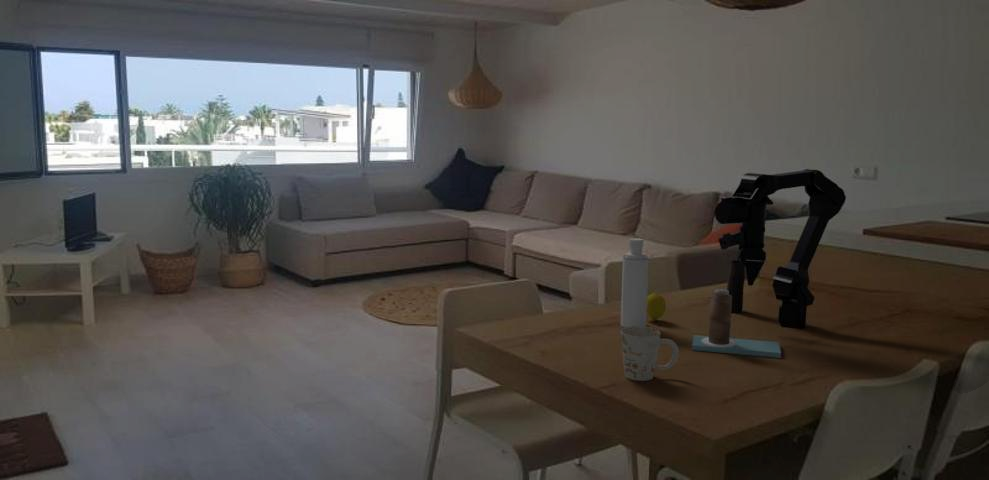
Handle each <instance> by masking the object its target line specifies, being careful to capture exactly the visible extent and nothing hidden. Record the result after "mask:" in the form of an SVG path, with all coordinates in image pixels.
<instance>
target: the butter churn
mask: <svg viewBox="0 0 989 480" xmlns="http://www.w3.org/2000/svg"><path fill="white" fill-rule="evenodd" d="M729 263H730V267H729V272H728V278H727V286H726V290H728V291H729V295H732V307H731V313H742V312H743V308H744V307H743V305H744V290H745V287H744V286H745V279H746V278H745V276H746V275H745V273H746V267H745V265H744V264H743V263H742V262H741V261H740V259H739V250H738V253H737V259H734V260H729Z"/></svg>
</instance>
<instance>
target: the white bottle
mask: <svg viewBox="0 0 989 480" xmlns="http://www.w3.org/2000/svg"><path fill="white" fill-rule="evenodd" d="M628 243H629V244H628V245H629V250H630V251H629V252H626V253H625V254H624V255H623V256H622V271H621V272H622V273H621V274H622V277H621V279H622V280H621V303H620V304H621V306H620V326H621V327H623V328H625V327H630V326H644V327H647V314H646V313H647V297H648V288H649V287H648V285H649V283H648V282H649V260H650V259H649V257H650V256H647V254H646V253H644V252H643V247H644V239H643V238H637V237H635V238H629V242H628Z"/></svg>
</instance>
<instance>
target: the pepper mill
mask: <svg viewBox="0 0 989 480" xmlns="http://www.w3.org/2000/svg"><path fill="white" fill-rule="evenodd" d="M731 307H732V295H729V291H728V290H727V289H723V288H716V289H715V290H714V293H711V295H710V313H709V314H710V315H709V327H708V328H709V329H708V330H709V331H708V336H709V342H710V343H713V344H718V345H726V344H729V339H730V338H731V323H732V322H731V321H732V320H731V319H732V312H731Z"/></svg>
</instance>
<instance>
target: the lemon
mask: <svg viewBox="0 0 989 480" xmlns="http://www.w3.org/2000/svg"><path fill="white" fill-rule="evenodd" d="M665 313H666V301H665V297H663V295H661V294H660V293H658V292H657V291H655V292H653V293H650V294H649V295H647V313H646V316H648V317H649V318H650V319H652V320H653V321H655V322H656V321H657V320H658V319H660V318H662V317H663V316H664V314H665Z"/></svg>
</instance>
